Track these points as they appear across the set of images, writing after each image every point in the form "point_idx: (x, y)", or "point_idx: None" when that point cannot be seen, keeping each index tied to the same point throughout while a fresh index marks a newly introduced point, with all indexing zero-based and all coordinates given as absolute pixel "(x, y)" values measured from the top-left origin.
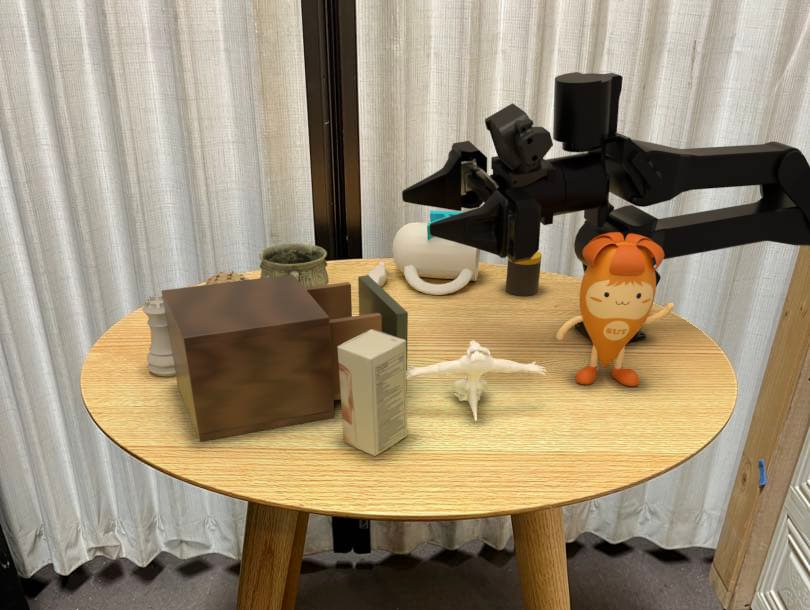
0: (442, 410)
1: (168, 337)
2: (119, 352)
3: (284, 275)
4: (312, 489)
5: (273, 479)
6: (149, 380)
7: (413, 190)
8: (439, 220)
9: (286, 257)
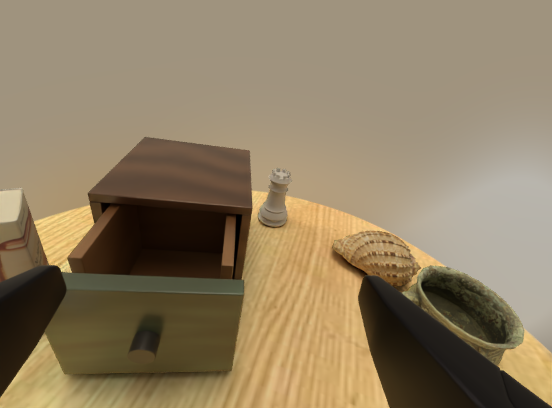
0: None
1: (268, 196)
2: (307, 207)
3: (250, 201)
4: None
5: (57, 226)
6: (258, 210)
7: (379, 304)
8: (20, 283)
9: (491, 313)
